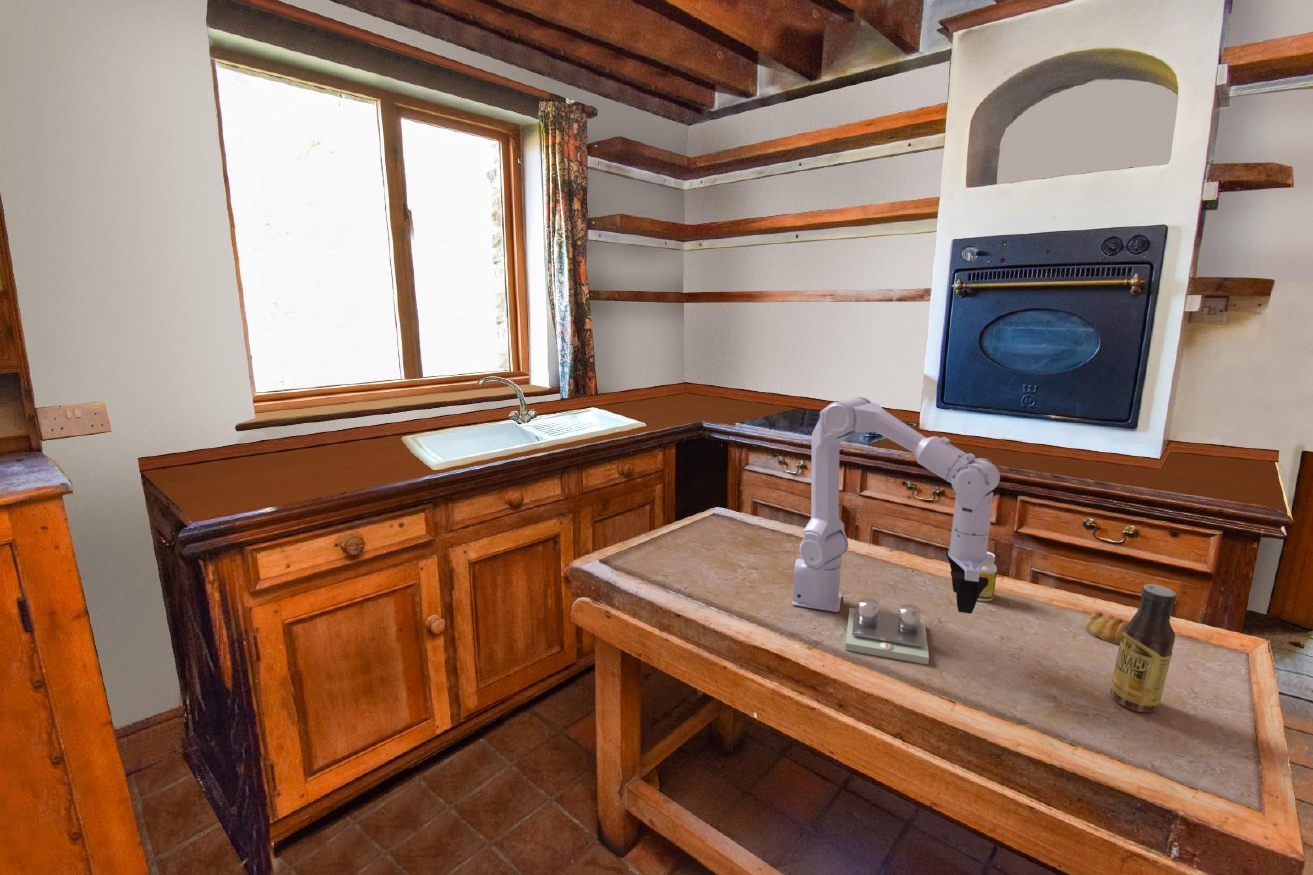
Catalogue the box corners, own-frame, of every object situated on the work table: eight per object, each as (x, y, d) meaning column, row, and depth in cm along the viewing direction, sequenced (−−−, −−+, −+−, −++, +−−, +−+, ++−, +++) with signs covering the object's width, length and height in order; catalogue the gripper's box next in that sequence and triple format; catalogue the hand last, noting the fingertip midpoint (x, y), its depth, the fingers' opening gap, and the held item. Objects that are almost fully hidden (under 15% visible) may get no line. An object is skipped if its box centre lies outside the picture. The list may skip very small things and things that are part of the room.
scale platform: (851, 639, 114) (852, 632, 114) (854, 614, 123) (854, 607, 123) (921, 651, 110) (922, 644, 110) (918, 624, 119) (919, 617, 119)
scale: (845, 649, 112) (845, 641, 112) (849, 613, 125) (849, 606, 125) (928, 664, 108) (929, 656, 107) (923, 625, 121) (924, 617, 120)
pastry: (1153, 644, 114) (1156, 626, 113) (1138, 656, 111) (1141, 637, 110) (1095, 623, 122) (1098, 605, 121) (1080, 633, 118) (1083, 615, 117)
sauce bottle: (1099, 691, 100) (1119, 579, 96) (1135, 689, 101) (1156, 577, 96) (1133, 718, 94) (1156, 599, 89) (1171, 715, 94) (1195, 597, 90)
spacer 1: (857, 624, 117) (858, 605, 116) (857, 615, 120) (859, 596, 119) (877, 627, 115) (878, 608, 114) (877, 618, 119) (878, 599, 118)
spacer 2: (899, 631, 114) (900, 612, 113) (896, 622, 117) (898, 603, 116) (920, 634, 113) (921, 614, 112) (916, 624, 116) (918, 605, 116)
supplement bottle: (997, 603, 129) (1002, 560, 127) (969, 600, 130) (974, 558, 128) (988, 591, 135) (994, 549, 132) (962, 589, 136) (967, 548, 134)
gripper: (1004, 548, 98) (994, 625, 101) (989, 518, 111) (981, 587, 114) (955, 542, 100) (947, 618, 103) (947, 514, 114) (940, 581, 117)
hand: (962, 601), depth 109 cm, fingers open, 7 cm apart
